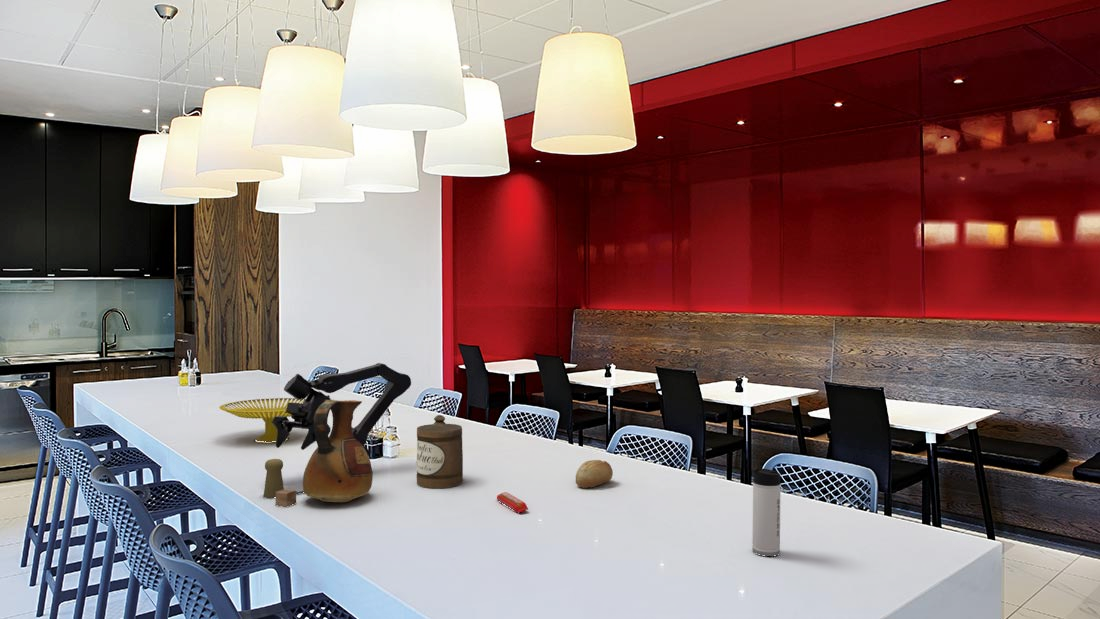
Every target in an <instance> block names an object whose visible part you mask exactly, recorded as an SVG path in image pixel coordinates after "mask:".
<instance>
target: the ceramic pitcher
mask: <svg viewBox="0 0 1100 619" xmlns="http://www.w3.org/2000/svg"><path fill="white" fill-rule="evenodd" d="M362 403H363V401H362V400H356V399H355V400H353V399H352V400H351V399H350V400H349V399H348V400H336V399H333V398H330V400H325V402H324V403H323V404H321V405H320V406H319V407H318V409H317V410H316V412H315V415H314V432H315V437H316V441H315V442H316V445H317V447H316V449H315V450H314V451H313V452H312V453H311V454H312V455H311V456H310V458H309V459H308V462H307V464H306V467H305V470H304V472H303V475H302V484H303V490H304V493H303V494H305V495H306V496H307V497H310V498H312V499H316V500H317V499H318V500H320V501H321V502H326V503H327V502H330V503H331V502H332V503H348V502H351V501H352V500H354V499H357V498H359V497H362V496H365V495H366V494H368V493H369V492H370V490H371V489H372V485H373V479H374V478H373V477H374V476H373V475H374V474H373V468H372V462H371V459H370V455H369V456H368V454H367V452H366V450H365V449H364V447H363V446H362V445H361V443H360V442H359V441H357V440H356V439H355V438H354V435H353V432H352V428H353V427H352V426H353V424H352V423H353V419H354V413H355V410H356V409H357V408H358V407H359V406H360V405H361V404H362ZM330 412H331V416H332V426H331V431H330V433H329V435H328V429H327V424H328V419H329V418H328V417H329V414H330Z"/></svg>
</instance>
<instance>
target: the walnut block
mask: <svg viewBox="0 0 1100 619" xmlns="http://www.w3.org/2000/svg"><path fill="white" fill-rule="evenodd" d="M295 503H296V504H297V495H296V490H290V489H284V490H281V491H278V492H276V498H275V506H276V505H278V506H277V507H280V506H283V507H282V508H288V507H287V506H289V507H291V506H290V505H292V504H294V505H296V504H295ZM292 506H293V505H292Z"/></svg>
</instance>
